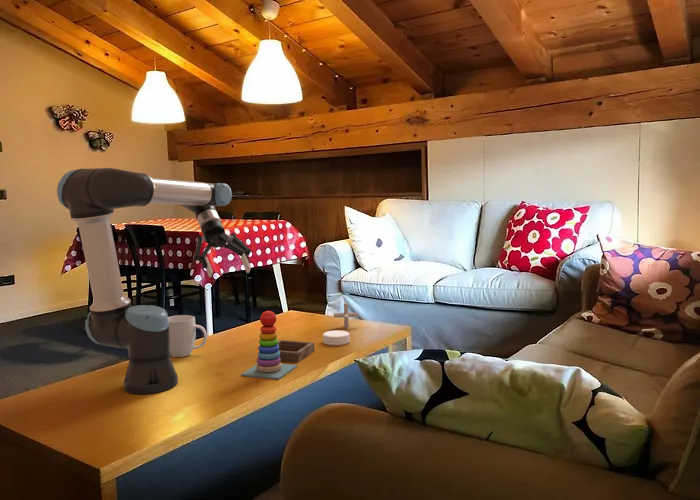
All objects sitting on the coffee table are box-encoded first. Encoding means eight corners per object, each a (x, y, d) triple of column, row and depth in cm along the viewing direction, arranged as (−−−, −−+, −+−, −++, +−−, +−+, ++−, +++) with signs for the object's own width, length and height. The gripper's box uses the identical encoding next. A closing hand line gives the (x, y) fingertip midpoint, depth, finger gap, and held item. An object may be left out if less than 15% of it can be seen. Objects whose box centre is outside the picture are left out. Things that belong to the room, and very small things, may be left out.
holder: (298, 361, 193) (298, 353, 193) (262, 358, 198) (262, 350, 197) (314, 350, 206) (314, 342, 205) (280, 348, 210) (279, 339, 210)
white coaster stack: (333, 337, 224) (333, 328, 224) (354, 341, 218) (354, 331, 218) (317, 343, 216) (317, 334, 215) (339, 347, 210) (339, 338, 210)
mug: (210, 349, 210) (209, 314, 209) (204, 358, 199) (202, 321, 198) (169, 350, 210) (167, 315, 208) (160, 360, 199) (158, 322, 197)
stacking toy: (280, 373, 180) (277, 313, 178) (254, 373, 180) (251, 314, 178) (283, 365, 188) (281, 308, 186) (258, 365, 188) (256, 308, 186)
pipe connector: (358, 330, 234) (358, 305, 233) (333, 330, 234) (333, 306, 233) (358, 324, 244) (358, 300, 243) (334, 324, 244) (334, 301, 243)
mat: (279, 379, 176) (279, 377, 176) (241, 375, 180) (241, 373, 180) (297, 366, 188) (297, 364, 188) (261, 363, 192) (261, 361, 192)
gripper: (240, 230, 215) (260, 275, 205) (174, 235, 201) (191, 283, 190) (246, 216, 210) (267, 262, 200) (178, 220, 196) (197, 269, 185)
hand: (230, 272), depth 195 cm, fingers open, 13 cm apart
